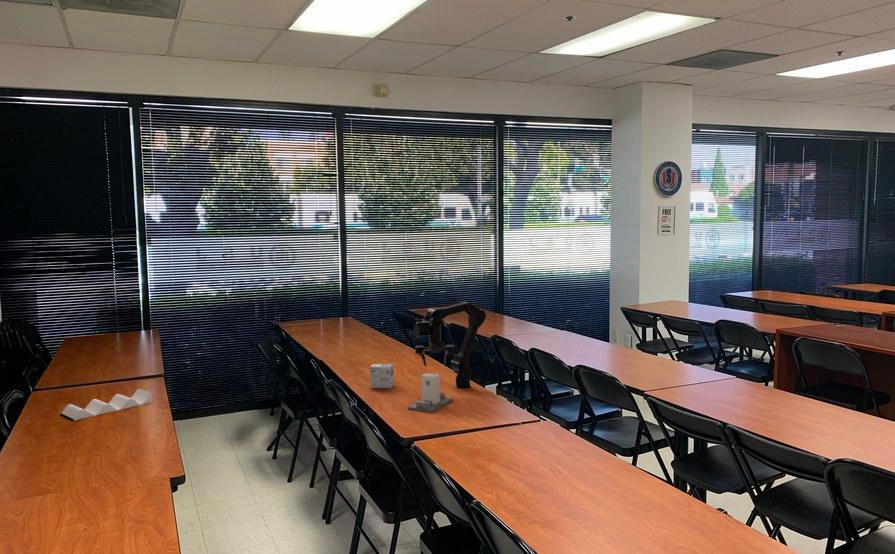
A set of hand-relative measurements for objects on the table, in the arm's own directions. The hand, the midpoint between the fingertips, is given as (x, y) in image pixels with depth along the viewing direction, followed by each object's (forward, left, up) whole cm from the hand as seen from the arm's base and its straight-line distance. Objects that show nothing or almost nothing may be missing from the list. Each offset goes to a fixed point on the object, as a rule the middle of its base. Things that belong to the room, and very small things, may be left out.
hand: (435, 366), depth 319 cm
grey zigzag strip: (+148, +12, -13) cm, 149 cm away
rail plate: (+3, +21, -12) cm, 25 cm away
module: (+3, +21, -11) cm, 24 cm away
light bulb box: (+26, -12, -12) cm, 31 cm away
